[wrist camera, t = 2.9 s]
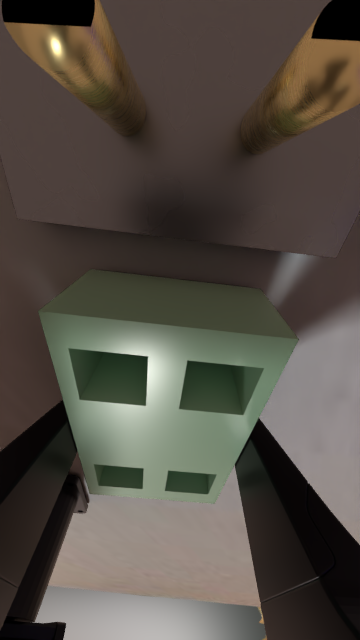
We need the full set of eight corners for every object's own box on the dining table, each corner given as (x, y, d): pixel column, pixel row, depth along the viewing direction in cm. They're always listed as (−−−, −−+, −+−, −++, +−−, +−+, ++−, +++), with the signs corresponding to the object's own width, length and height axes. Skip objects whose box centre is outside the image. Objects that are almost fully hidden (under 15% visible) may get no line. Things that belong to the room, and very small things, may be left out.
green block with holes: (208, 440, 13) (214, 503, 10) (109, 431, 12) (89, 493, 10) (260, 288, 7) (298, 339, 5) (90, 269, 7) (37, 311, 5)
